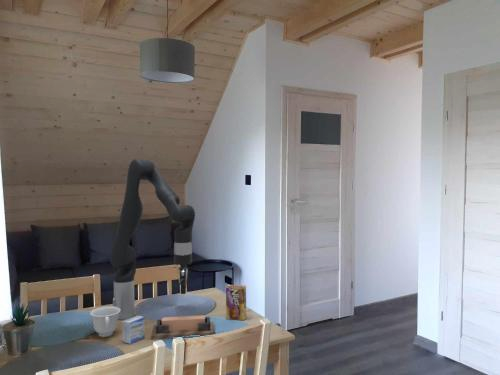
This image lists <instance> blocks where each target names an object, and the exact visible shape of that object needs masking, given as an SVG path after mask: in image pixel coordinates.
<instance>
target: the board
mask: <svg viewBox="0 0 500 375" xmlns="http://www.w3.org/2000/svg"><path fill="white" fill-rule="evenodd" d="M212 334H215V335H216V330H215V324H214V321H211V317H210V316H205V323H198V329H197V330H179V331H169V325H162V319H157V320H156V324H154V325H153V327H152V331H151V334H150V339H151V340H167V339H166V338H170V339H174V338H173V337H182V336H184V337H185V336H190V335H200V336H204V335H212ZM204 337H205V336H204Z"/></svg>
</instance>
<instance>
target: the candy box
mask: <svg viewBox="0 0 500 375" xmlns="http://www.w3.org/2000/svg"><path fill="white" fill-rule="evenodd" d="M225 304H226V305H225V310H226V311H225V312H226V313H225V314H226V315H225V317H226V320H234V321H235V320H238V321H239V320H240V321H245V320H246V318H247V285H244V284H243V285H241V284H227V285H226V286H225Z"/></svg>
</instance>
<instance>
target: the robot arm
mask: <svg viewBox="0 0 500 375" xmlns="http://www.w3.org/2000/svg"><path fill="white" fill-rule="evenodd" d="M141 181H148V182H149V183H150V184H151V185H152V186H153V187H154V189H155V190H154V192H155V195H156V197H157V199H158V200H159V202H160V203H161V204H162V205H163V206H164V207H165V209H166V211H167V214H168V216H169V218H170V219H171V221H173V222H174V223H177V224H179V223H181V224H180V226H178V227H177V228H176V229H175V230H174V244H173V264H174V265H177V266H180V267H178V270H177V272H178V280H179V288H180V290H179V292H180V294H181V295H185V294H186V293H187V291H186V290H187V280H188V273H189V272H188V270H189V266H188V265H191V264H192V263H193V245H192V230H193V227H194V223H195V218H196V212H195V209H194V208H193V206H192V205H190V204H183V205H182V204H181V205H179V204H180V203H181V199H180V197H179V196H178V194H176V192H175V191H174V190H173V189H172V188H171V187H170V186H169V185H168V183H167V181H166V180H165V179H164V177H163V176H162V175H161V172H160V171H159V169H158V168H157V166H156V165H155V163H154V162H153V161H151V160H147V159H141V158H140V159H139V158H135V159H132V160H131V162H130V163H129V166H128V170H127V178H126V186H125V192H124V196H123V197H124V199H123V203H122V207H121V212H120V215H119V221H118V226H117V230H116V235H115V239H114V241H113V244H112V248H111V250H110V253H109V262H110V264H111V266H112V267H113V268H114V269H115V268H116V269H117V271H116V272H115V273H114V274H113V298H112V306H114V307H118V308H120V312H119V315H118V321H119V320H122V321H125V320H127V319H130V318H132V317H135V316H136V315H135V312H136V311H135V276H136V271H137V253H136V251H135V248H134V247H133V246H131V245H130V241H131V239H132V238H133V235H134V234H135V232H136V230H137V229H138V227H139V225H140V224H141V223H140V222H141V220H142V216H143V215H142V214H143V212H144V210H143V209H144V208H143V203H142V199H141V196H140V194H139V188H140V184H141V183H140V182H141ZM187 266H188V267H187Z"/></svg>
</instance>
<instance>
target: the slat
mask: <svg viewBox="0 0 500 375" xmlns="http://www.w3.org/2000/svg"><path fill="white" fill-rule="evenodd" d="M205 317H206V316H205V315H204V314H203V315H187V316H186V315H185V316H169V317H168V316H166V317H165V316H163V317H162V319H161V320H162V325H169V331H179V330H197V329H198V323H205Z"/></svg>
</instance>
